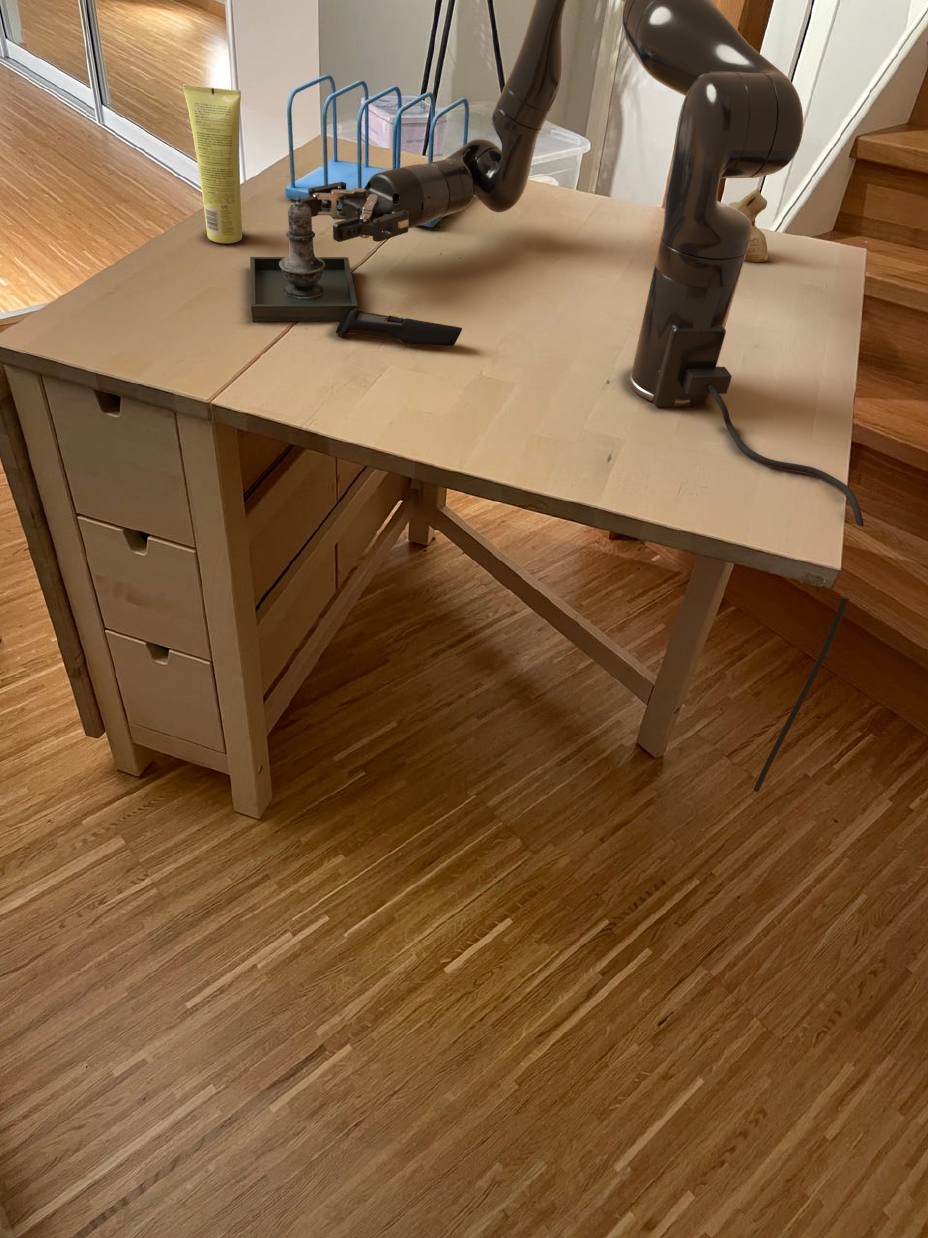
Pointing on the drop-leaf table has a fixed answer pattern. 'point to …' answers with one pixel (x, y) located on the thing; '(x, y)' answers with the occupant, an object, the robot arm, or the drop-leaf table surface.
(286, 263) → the salt shaker
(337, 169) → the file sorter
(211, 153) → the tube
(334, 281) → the tray
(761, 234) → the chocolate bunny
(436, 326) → the electric trimmer
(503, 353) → the drop-leaf table surface
